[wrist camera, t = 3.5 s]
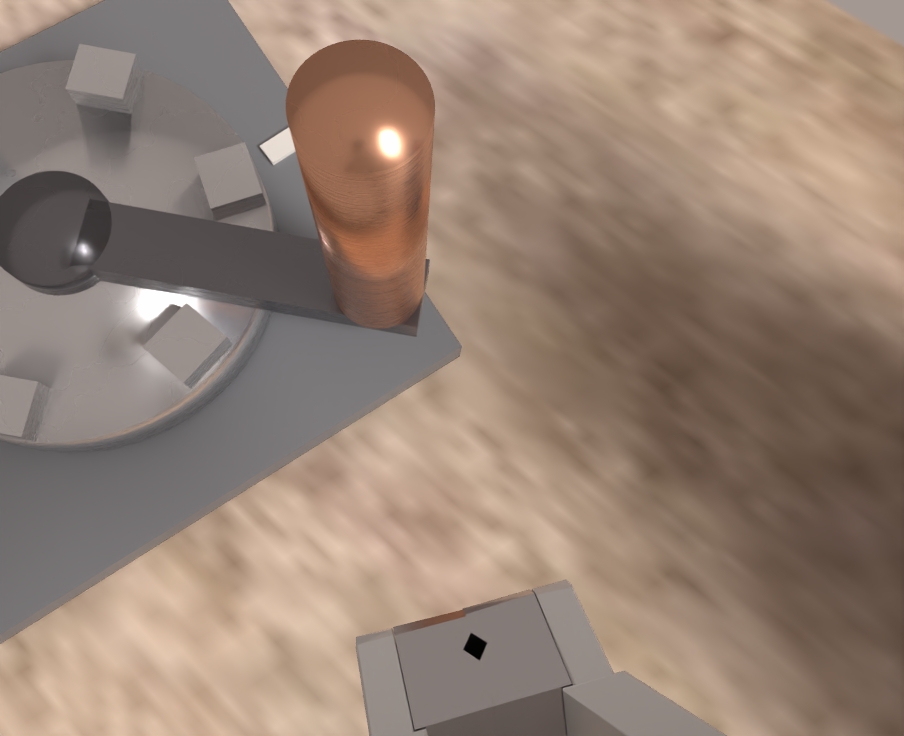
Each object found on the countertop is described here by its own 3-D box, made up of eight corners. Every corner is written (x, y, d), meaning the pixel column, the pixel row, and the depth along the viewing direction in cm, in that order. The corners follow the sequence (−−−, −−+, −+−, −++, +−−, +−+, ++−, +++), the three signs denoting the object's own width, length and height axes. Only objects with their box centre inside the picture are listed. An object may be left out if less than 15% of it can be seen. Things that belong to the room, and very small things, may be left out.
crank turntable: (-160, 415, 29) (-706, 269, 15) (-37, 68, 32) (-386, -323, 18) (386, 511, 29) (367, 459, 15) (452, 157, 33) (488, -161, 18)
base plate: (459, 356, 33) (461, 344, 31) (-14, 652, 29) (-39, 657, 27) (205, -21, 36) (195, -49, 34) (-246, 205, 32) (-281, 186, 31)
